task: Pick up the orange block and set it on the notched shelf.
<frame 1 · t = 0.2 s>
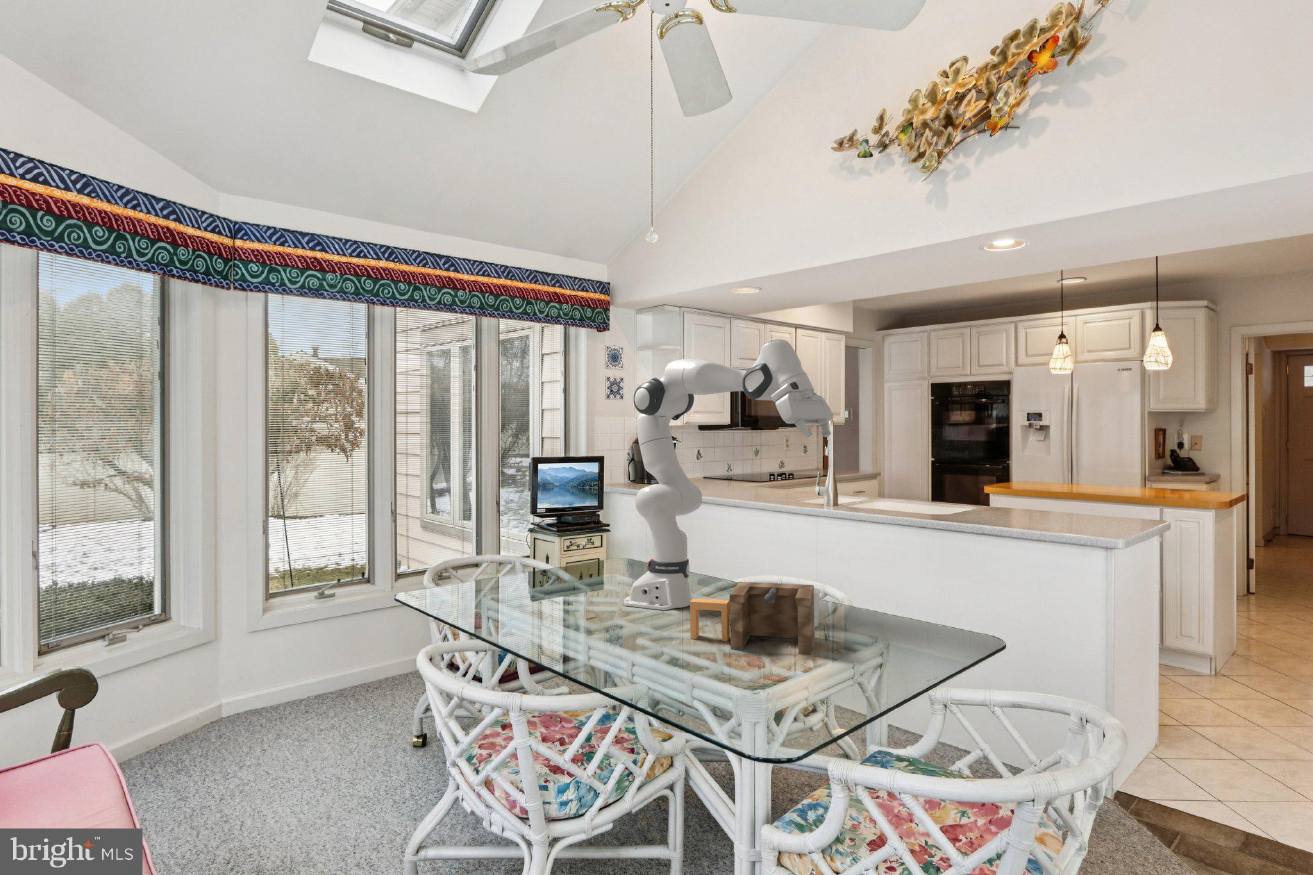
hand: (818, 436, 185), 54 cm above the table, tool tilted 30°, fingers open, 8 cm apart
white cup: (806, 625, 198), on the table
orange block: (710, 637, 187), on the table
notched shelf: (773, 642, 182), on the table
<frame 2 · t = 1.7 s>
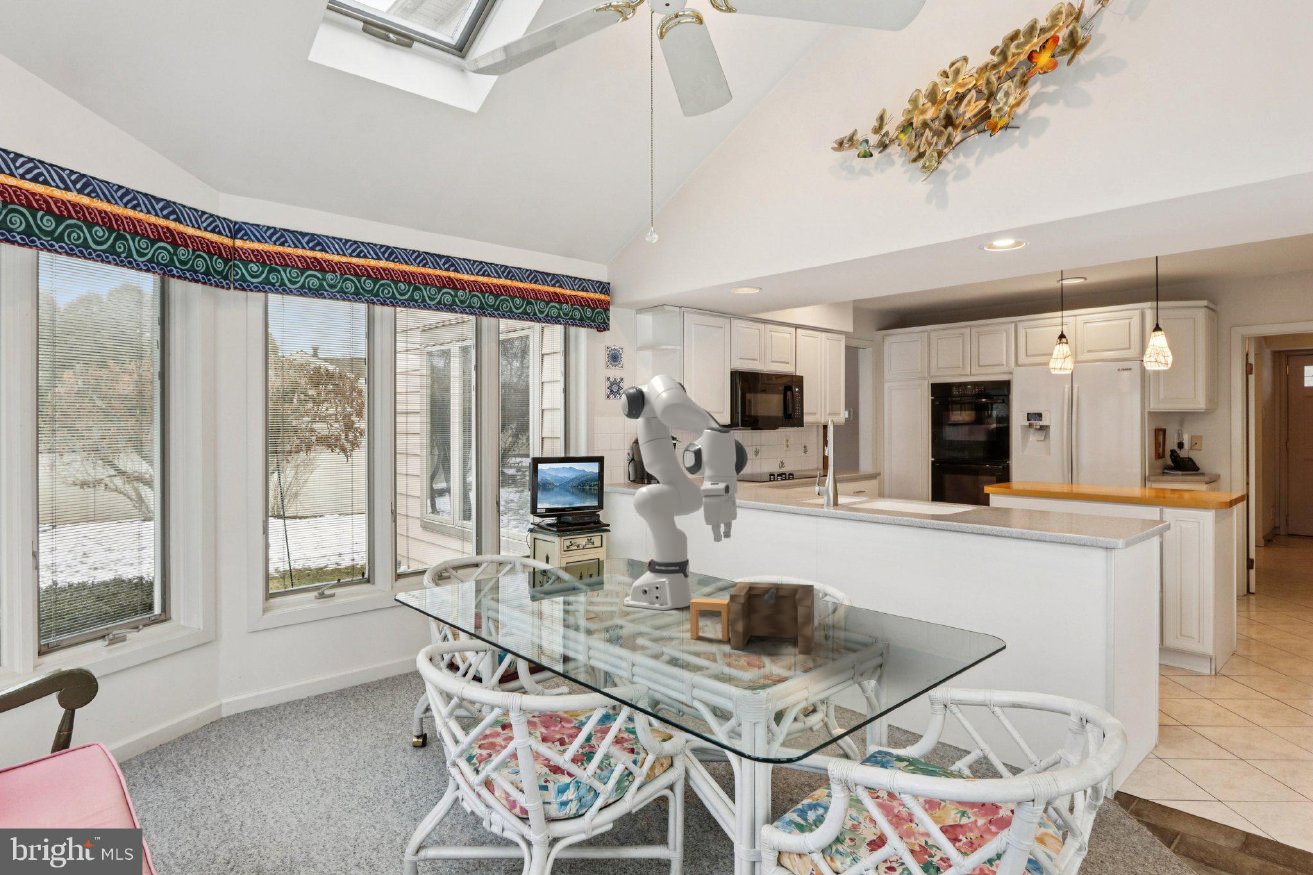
hand: (722, 539, 185), 27 cm above the table, tool pointing down, fingers open, 8 cm apart
nothing on the table moved.
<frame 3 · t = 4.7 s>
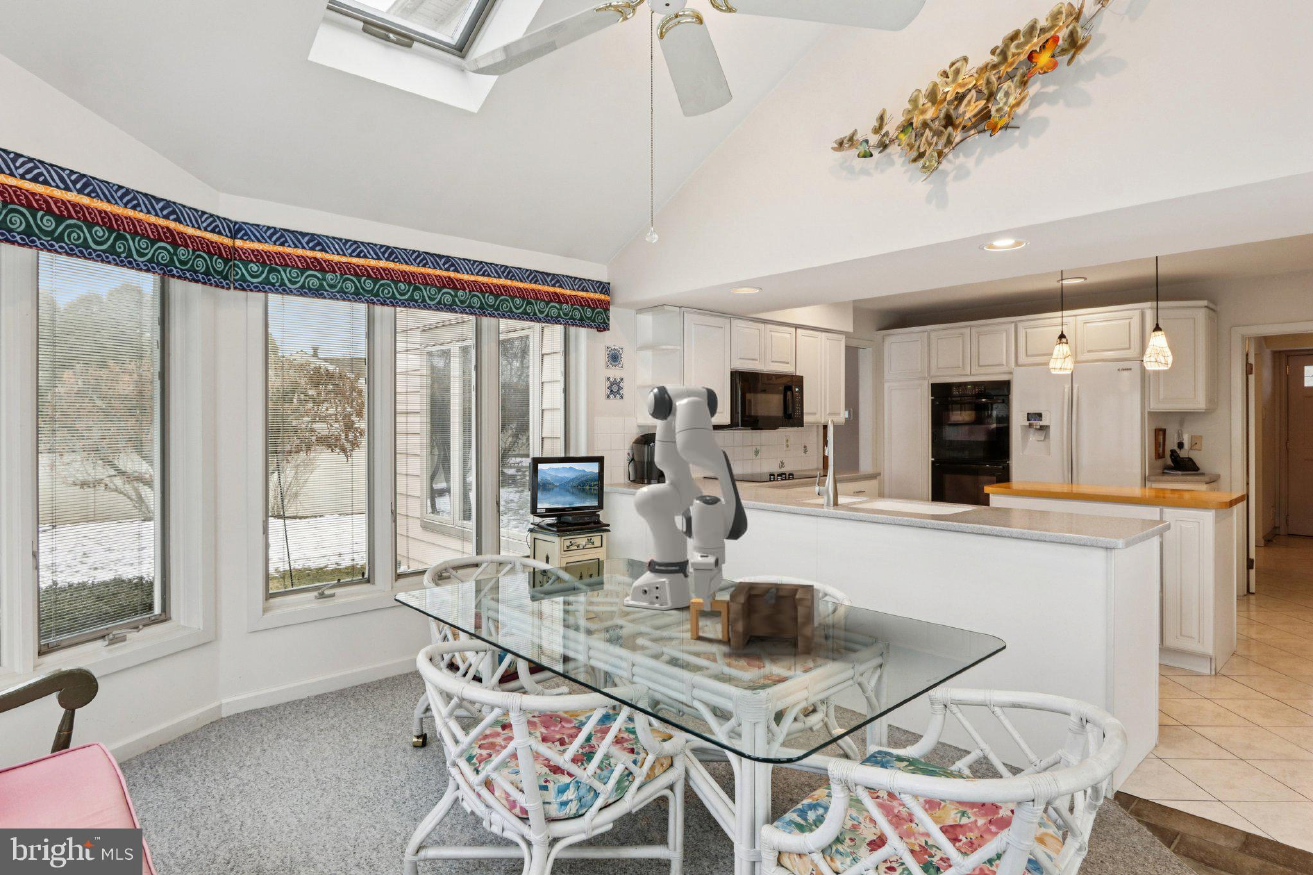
hand: (709, 607, 187), 8 cm above the table, tool pointing down, fingers closed on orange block, 4 cm apart
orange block: (710, 637, 187), on the table, touching gripper
everything else where it was.
when the fingers open (15 cm above the table, at t = 10.5 s): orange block stays where it is, resting on notched shelf.
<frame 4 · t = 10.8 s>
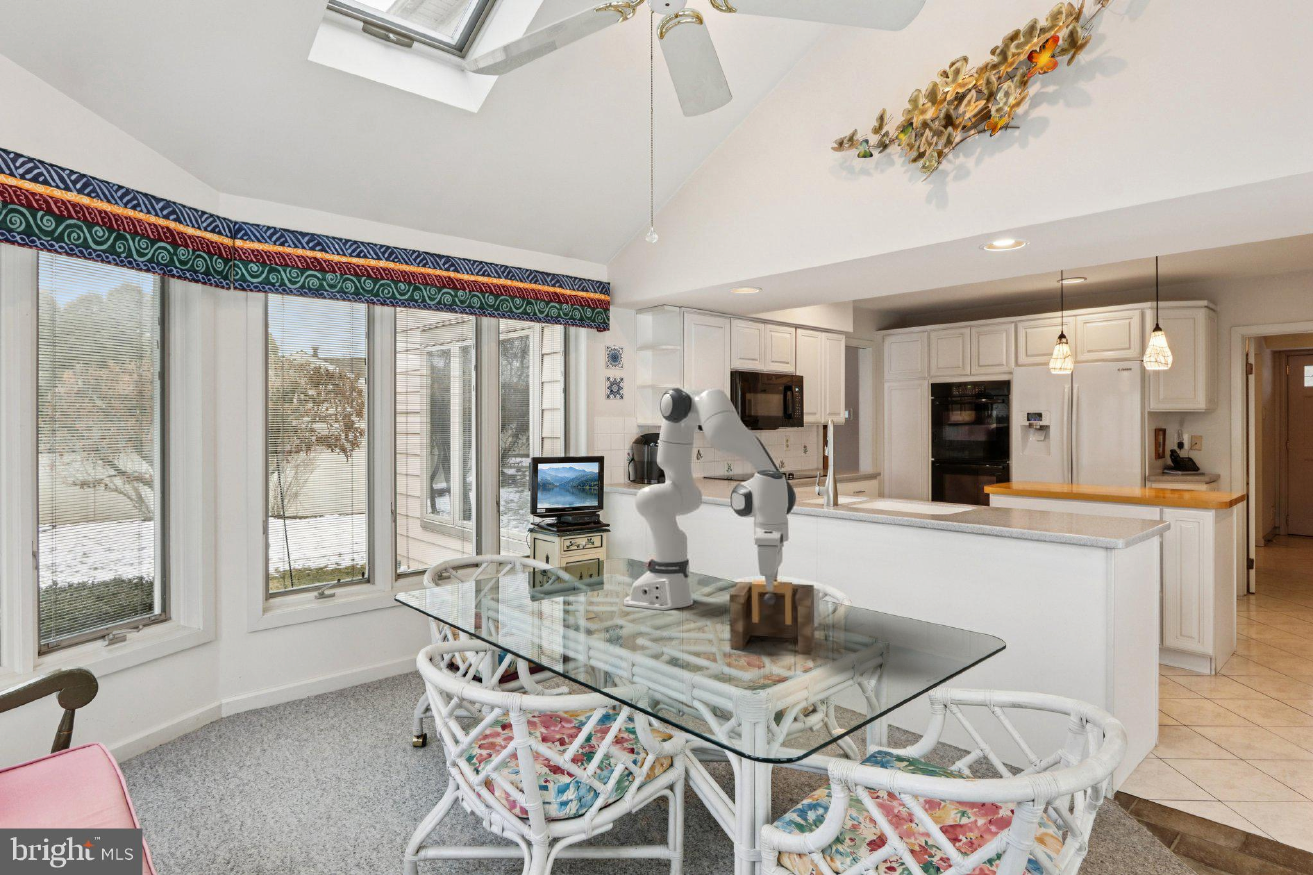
hand: (771, 586, 180), 15 cm above the table, tool pointing down, fingers open, 6 cm apart
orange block: (772, 621, 181), point 6 cm above the table, touching notched shelf
everything else where it was.
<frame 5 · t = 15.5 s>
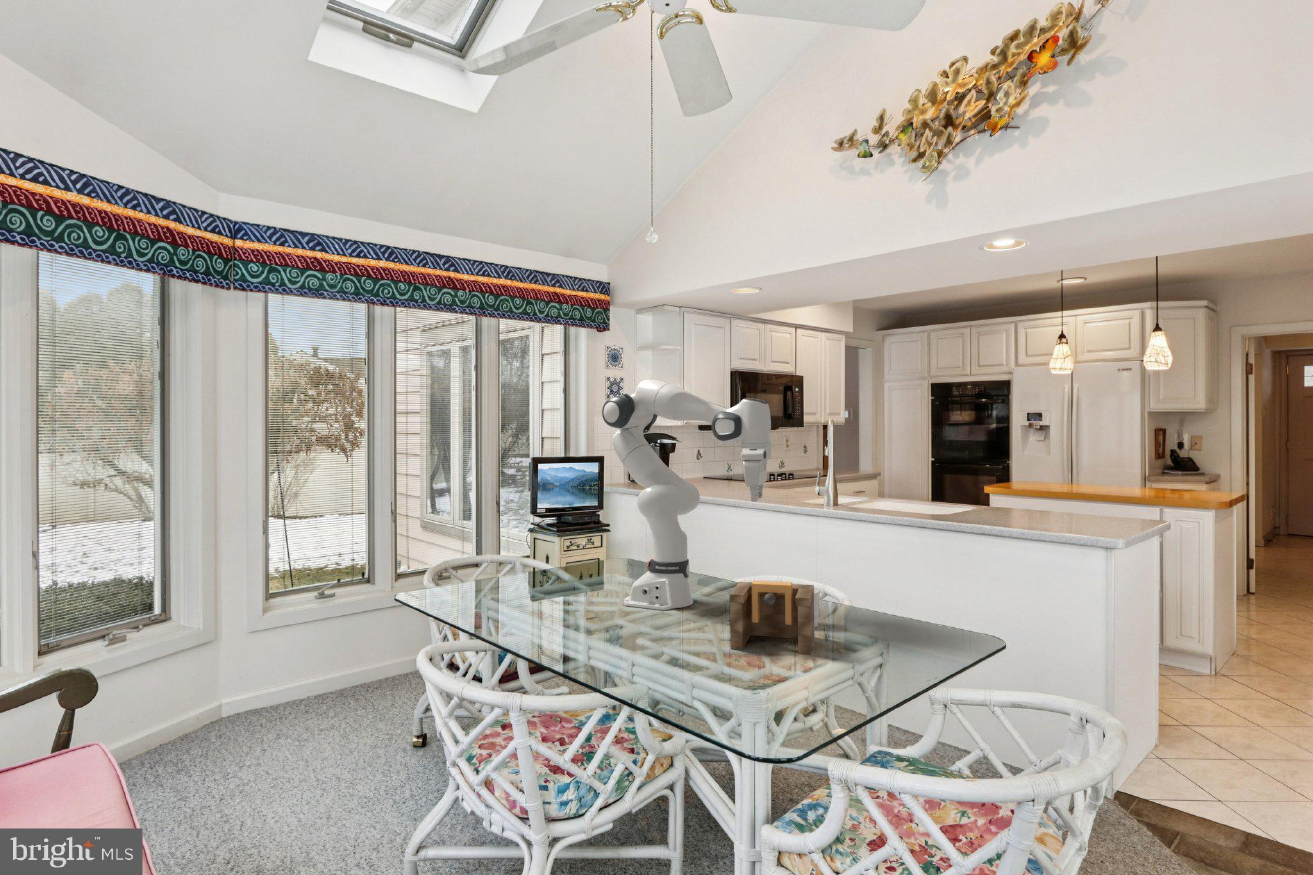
hand: (756, 499, 205), 35 cm above the table, tool pointing down, fingers open, 8 cm apart
nothing on the table moved.
at the end: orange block 0.2 cm from the target spot on the notched shelf, point 6.0 cm above the notched shelf's base; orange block touching notched shelf; the gripper is holding nothing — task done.
